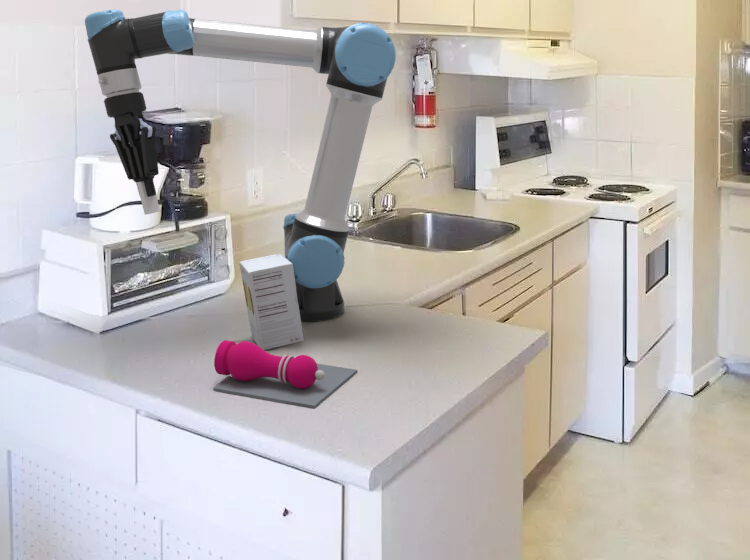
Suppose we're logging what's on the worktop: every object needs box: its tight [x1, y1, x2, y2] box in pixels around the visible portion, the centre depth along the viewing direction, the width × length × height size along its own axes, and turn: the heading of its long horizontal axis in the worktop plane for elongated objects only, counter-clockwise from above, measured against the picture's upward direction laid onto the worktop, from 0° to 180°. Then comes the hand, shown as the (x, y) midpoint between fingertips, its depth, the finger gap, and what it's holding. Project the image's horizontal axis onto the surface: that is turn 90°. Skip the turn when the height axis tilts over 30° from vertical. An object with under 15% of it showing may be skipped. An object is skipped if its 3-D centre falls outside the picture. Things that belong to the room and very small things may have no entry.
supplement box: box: [238, 253, 305, 351], centre depth 173 cm, size 10×9×17 cm
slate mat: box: [213, 362, 358, 409], centre depth 155 cm, size 20×18×1 cm
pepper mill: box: [213, 339, 325, 389], centre depth 151 cm, size 7×7×20 cm
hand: (152, 212), depth 169 cm, fingers closed
